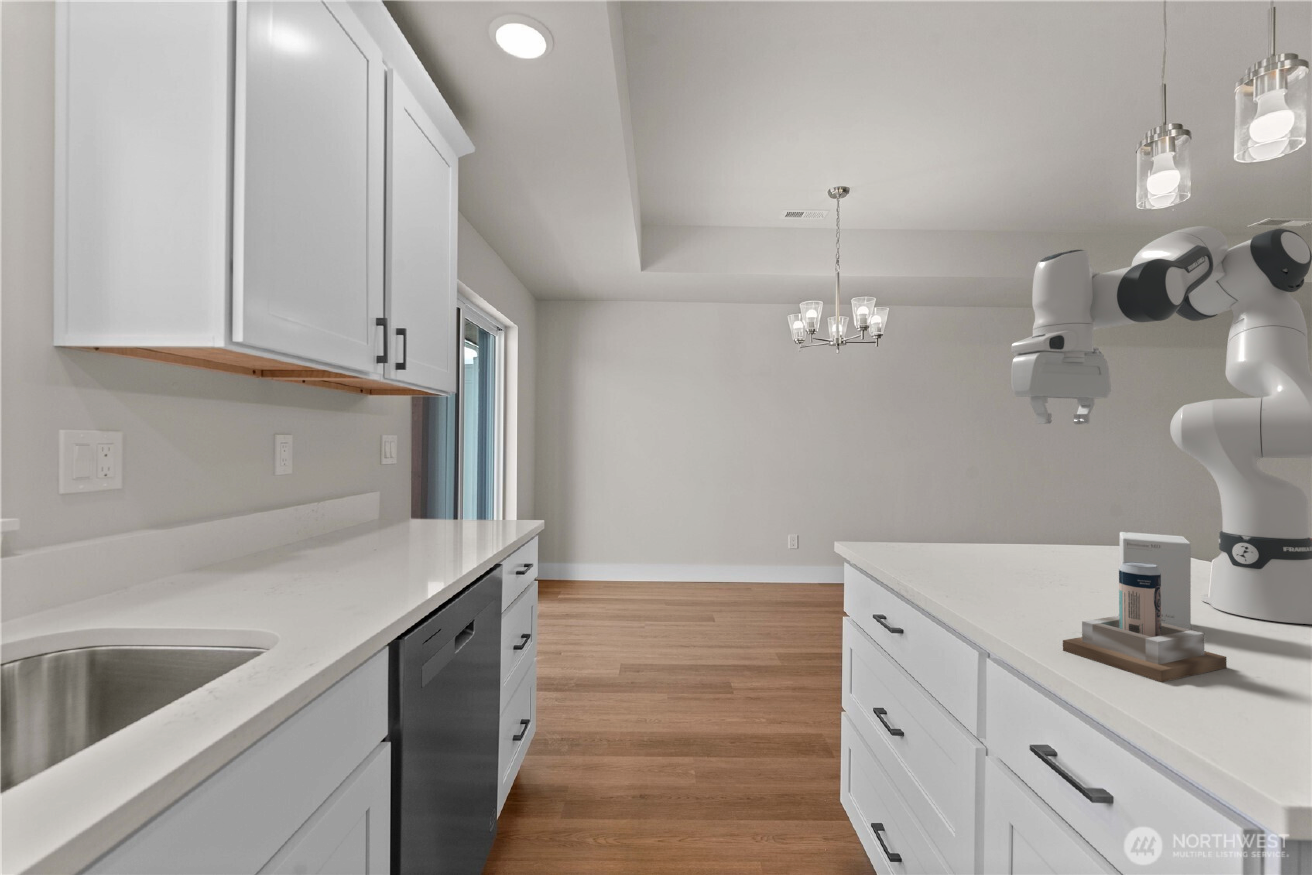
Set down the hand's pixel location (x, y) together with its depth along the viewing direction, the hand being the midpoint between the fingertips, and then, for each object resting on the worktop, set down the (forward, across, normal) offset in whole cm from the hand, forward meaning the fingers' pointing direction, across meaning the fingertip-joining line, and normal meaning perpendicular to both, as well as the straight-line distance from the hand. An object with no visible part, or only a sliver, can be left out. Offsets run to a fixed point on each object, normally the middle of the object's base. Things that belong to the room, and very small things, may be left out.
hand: (1062, 424), depth 107 cm
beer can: (+33, +8, +17) cm, 38 cm away
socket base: (+34, +8, +17) cm, 39 cm away
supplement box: (+34, -12, +7) cm, 37 cm away
